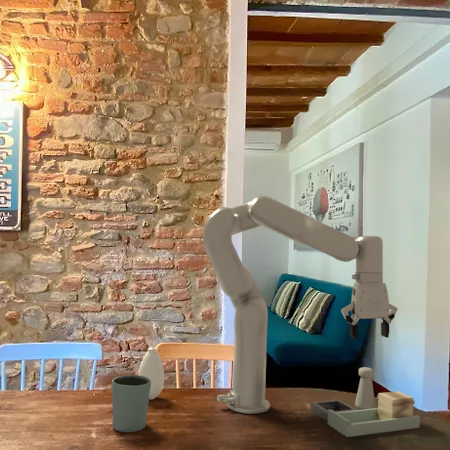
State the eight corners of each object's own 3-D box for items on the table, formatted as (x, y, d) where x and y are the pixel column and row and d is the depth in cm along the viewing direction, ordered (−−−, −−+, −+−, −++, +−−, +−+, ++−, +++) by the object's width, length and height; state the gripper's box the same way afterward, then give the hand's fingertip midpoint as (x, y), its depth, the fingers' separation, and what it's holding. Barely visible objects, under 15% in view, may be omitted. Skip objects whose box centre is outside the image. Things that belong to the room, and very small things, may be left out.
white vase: (141, 393, 163) (143, 336, 163) (166, 395, 162) (168, 337, 162) (134, 401, 155) (136, 341, 156) (159, 403, 154) (161, 342, 155)
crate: (392, 426, 140) (393, 400, 140) (376, 417, 146) (377, 392, 146) (414, 423, 143) (414, 398, 143) (397, 415, 149) (398, 390, 149)
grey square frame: (328, 422, 143) (328, 413, 143) (310, 411, 152) (311, 402, 152) (357, 419, 147) (357, 410, 147) (338, 408, 156) (338, 399, 156)
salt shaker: (376, 417, 149) (377, 371, 149) (355, 415, 150) (356, 369, 150) (374, 410, 154) (375, 366, 155) (354, 408, 156) (355, 364, 156)
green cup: (107, 421, 139) (108, 376, 139) (144, 417, 143) (145, 373, 143) (114, 435, 130) (116, 387, 130) (154, 430, 134) (155, 383, 134)
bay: (346, 437, 133) (347, 421, 133) (327, 424, 142) (328, 409, 142) (419, 427, 142) (419, 412, 142) (397, 416, 150) (397, 402, 150)
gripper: (347, 280, 146) (347, 341, 146) (403, 278, 150) (403, 338, 149) (336, 277, 153) (336, 336, 153) (389, 276, 157) (389, 333, 157)
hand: (369, 337), depth 151 cm, fingers open, 9 cm apart
